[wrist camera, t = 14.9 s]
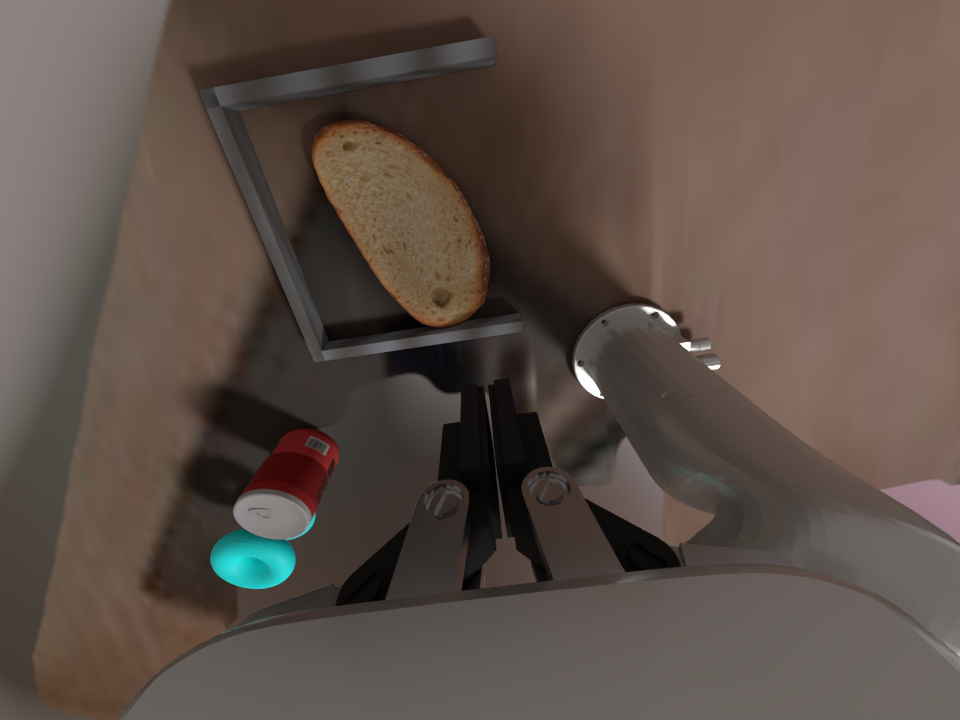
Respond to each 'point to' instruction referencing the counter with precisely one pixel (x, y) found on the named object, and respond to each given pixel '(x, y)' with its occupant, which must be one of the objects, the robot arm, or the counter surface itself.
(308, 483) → the canned food
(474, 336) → the corral
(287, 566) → the donuts
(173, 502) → the counter surface
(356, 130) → the bread slice
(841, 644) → the robot arm
